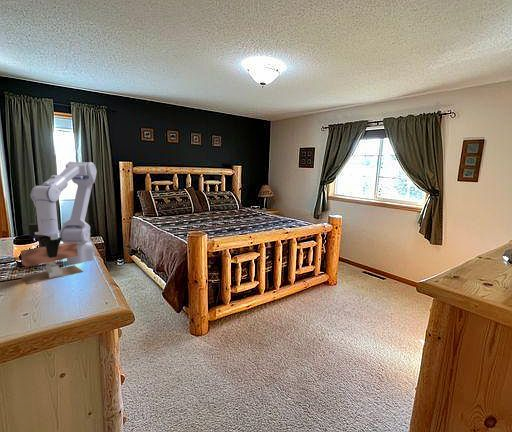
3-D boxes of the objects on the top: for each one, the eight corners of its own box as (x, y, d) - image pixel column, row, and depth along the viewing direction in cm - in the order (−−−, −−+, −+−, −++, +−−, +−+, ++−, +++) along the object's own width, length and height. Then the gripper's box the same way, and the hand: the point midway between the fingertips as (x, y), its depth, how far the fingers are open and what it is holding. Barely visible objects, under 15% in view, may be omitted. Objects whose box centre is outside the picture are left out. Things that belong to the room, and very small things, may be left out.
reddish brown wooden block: (72, 254, 109) (71, 241, 108) (77, 255, 107) (76, 243, 106) (22, 264, 96) (20, 250, 95) (26, 266, 94) (24, 252, 93)
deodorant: (50, 254, 130) (47, 223, 127) (37, 258, 124) (33, 225, 122) (42, 253, 131) (38, 222, 129) (28, 256, 126) (24, 224, 124)
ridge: (55, 269, 107) (54, 259, 106) (62, 275, 101) (61, 265, 100) (43, 272, 104) (42, 262, 103) (49, 278, 98) (48, 267, 97)
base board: (74, 267, 112) (74, 265, 112) (83, 274, 105) (83, 271, 105) (20, 278, 100) (20, 276, 99) (27, 287, 93) (26, 284, 92)
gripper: (29, 218, 101) (32, 254, 103) (38, 223, 92) (42, 262, 94) (52, 216, 106) (55, 250, 108) (63, 220, 97) (66, 258, 99)
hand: (51, 255), depth 101 cm, fingers closed on reddish brown wooden block, 4 cm apart
